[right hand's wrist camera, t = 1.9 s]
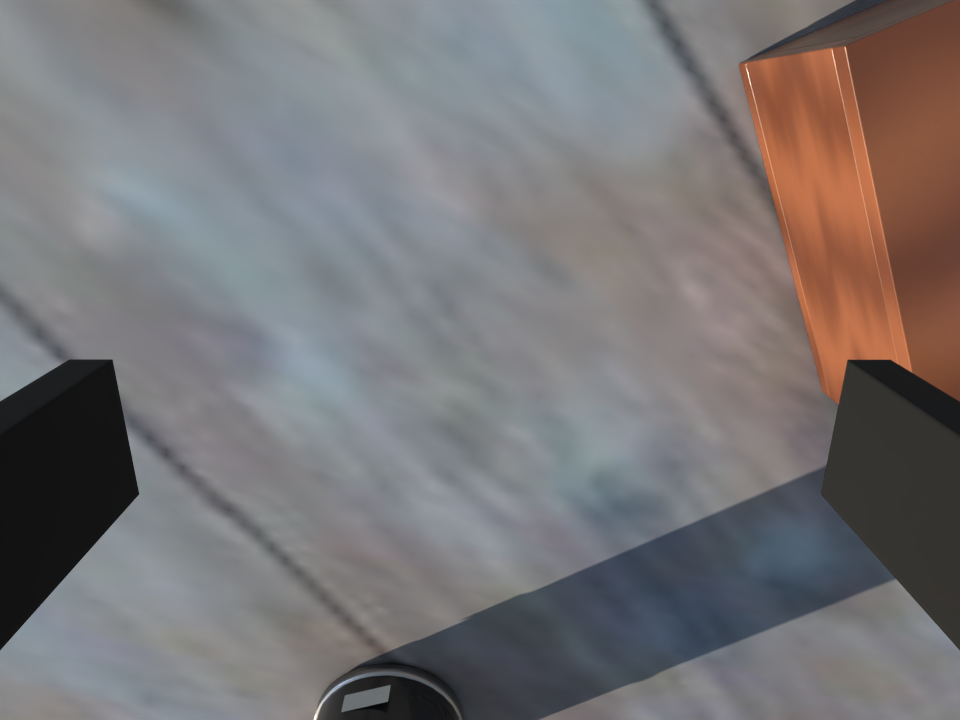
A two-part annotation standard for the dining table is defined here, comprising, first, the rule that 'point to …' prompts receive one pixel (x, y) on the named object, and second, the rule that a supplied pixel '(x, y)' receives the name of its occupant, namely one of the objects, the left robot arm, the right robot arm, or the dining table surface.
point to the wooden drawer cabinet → (869, 184)
